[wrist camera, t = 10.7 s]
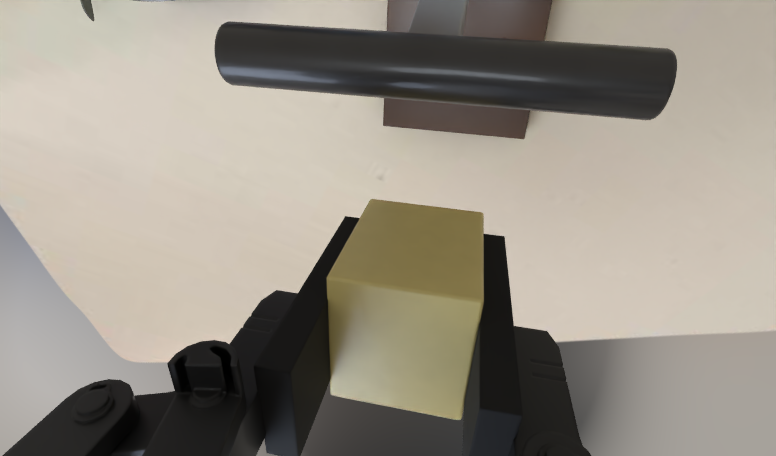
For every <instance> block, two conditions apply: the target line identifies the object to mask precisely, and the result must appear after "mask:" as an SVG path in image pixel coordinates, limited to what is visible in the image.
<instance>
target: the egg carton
mask: <svg viewBox="0 0 776 456" xmlns="http://www.w3.org/2000/svg"><path fill="white" fill-rule="evenodd" d="M134 1H175V0H134Z"/></svg>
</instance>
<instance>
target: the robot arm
mask: <svg viewBox="0 0 776 456" xmlns="http://www.w3.org/2000/svg"><path fill="white" fill-rule="evenodd" d="M359 219H360V218H354V217H346V216H345V218H344V220H343V221H342V223H341V225H340V226H339V228H338V229H337V231H336V233H335V234H334V236H333V237H332V239H331V241H330V242H329V244H328V246H327V247H326V249H325V250H324V252H323V254H322V255H321V257H320V259H319V260H318V262H317V263H316V265H315V267H314V268H313V270H312V272H311V273H310V275H309V276H308V278H307V280H306V281H305V283H304V285H303V286H302V288H301V289H300V291H299V293H298V294H297V293H291V292H285V291H278V290H276V291H275V292H273V293H272V294H270V295H269V296H267V297H266V298H264V299H263V300H261V302H260V303H259V304H258V306H257V307H256V308H255V310H254V311H253V313H252V315H251V317H249V318H248V320H247V321H246V322H245V324H244V326H243V328H241V329H240V331H239V332H238V333H237V335H236V336H235V338H234V339H233V340H232V342H231V343H230V344H228V343H226V342H221V341H216V340H212V341H202V342H199V343H196V344H193V345H190V346H187V347H186V348H184V349H183V350H181V351H180V352H178V353H177V354H175V355H174V357H173V358H172V359H171V360H170V361H169V362H168V368H169V371H170V375H171V378H172V382H173V385H174V389H175V391H173V392H168V393H158V394H147V395H137V396H134V394H133V391H132V389H131V387H130V385H129V384H127V383H125V382H123V381H121V380H110V379H108V380H103V381H98V382H94V383H92V384H90V385H87V386H85V387H83V388H80V389H79V390H77V391H76V392H75V393H73V394H72V395H70V396H69V397H68V398H66V399H65V400H64V401H63V402H62V403H61V404H60V405H58V406H57V407H56V408H55V409H54V410H53V411H52V412H51V413H49V415H47V416H46V417H45V418H44V419H43V420H42V421H40V422H39V423H38V424H37V425H36V426H35V427H34V428H33V429H32V430H31V431H29V432H28V433H27V434H26V435H25V436H24V437H23V438H22V439H21V440H19V441H18V442H17V443H16V444H15V445H14V446H13V447H12V448H10V449H9V450H8V451H7V452H6V453H5V454H4V455H3V456H256V454H257V452H258V450H259V448H260V446H261V444H262V442H263V440H264V438H265V445H266V451H267V453H269V454H274V455H278V456H300V455H301V453H302V450H303V447H304V445H305V443H306V440H307V438H308V435H309V432H310V430H311V427H312V425H313V422H314V420H315V417H316V414H317V412H318V409H319V407H320V404H321V402H322V399H323V397H324V394H325V391H326V389H327V386H328V384H329V381H330V350H329V319H328V299H327V276H328V274H329V272H330V271H331V269H332V267H333V265H334V264H335V262H336V260H337V258H338V256H339V255H340V253H341V251H342V249H343V247H344V246H345V244H346V242H347V240H348V239H349V237H350V235H351V233H352V231H353V230H354V228H355V226H356V224H357V223H358V221H359ZM562 366H563V363H562V359H561V354H560V350H559V347H558V346H557V344H556V343H555V341H554V340H553V339H552V337H551V336H550V335H549V333H548V332H547V331H542V330H536V329H530V328H523V327H517V326H514V325H513V315H512V305H511V296H510V286H509V276H508V267H507V257H506V248H505V238H504V236H496V235H489V234H484V304H483V309H482V314H481V319H480V323H479V328H478V333H477V339H476V344H475V349H474V354H473V360H472V365H471V370H470V375H469V381H468V386H467V391H466V396H465V402H464V423H463V448H462V456H591V455H590V453H589V452H588V451H587V449H585V448H584V447H583V445H582V443H581V440H580V437H579V433H578V429H577V425H576V420H575V416H574V411H573V408H572V403H571V398H570V394H569V390H568V386H567V382H566V376H565V372H564V368H563V367H562Z"/></svg>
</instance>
